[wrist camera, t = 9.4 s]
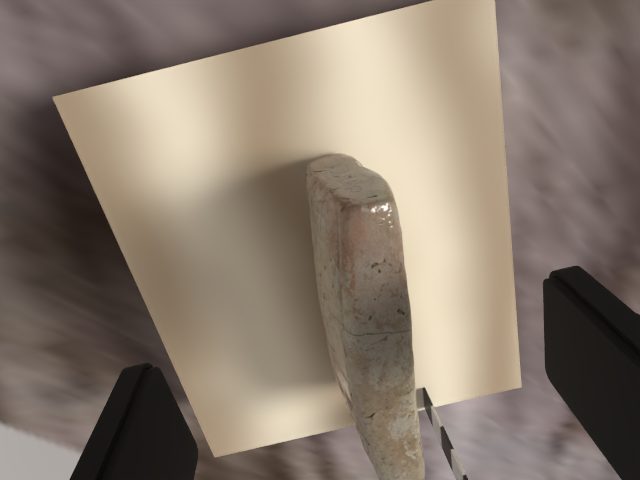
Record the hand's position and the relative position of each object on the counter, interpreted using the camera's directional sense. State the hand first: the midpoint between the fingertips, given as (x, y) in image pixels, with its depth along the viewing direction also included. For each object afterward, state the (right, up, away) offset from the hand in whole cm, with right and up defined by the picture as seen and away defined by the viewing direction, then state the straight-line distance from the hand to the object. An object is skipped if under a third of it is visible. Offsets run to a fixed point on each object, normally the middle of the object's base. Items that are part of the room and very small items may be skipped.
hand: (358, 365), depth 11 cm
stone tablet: (+1, +1, +7) cm, 7 cm away
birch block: (-1, +4, +10) cm, 11 cm away
